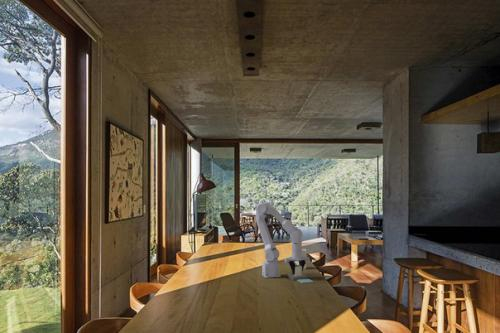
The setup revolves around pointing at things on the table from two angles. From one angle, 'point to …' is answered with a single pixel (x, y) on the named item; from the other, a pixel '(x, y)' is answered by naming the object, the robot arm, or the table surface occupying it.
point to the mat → (305, 281)
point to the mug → (302, 256)
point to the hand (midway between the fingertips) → (297, 273)
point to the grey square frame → (296, 277)
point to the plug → (298, 270)
